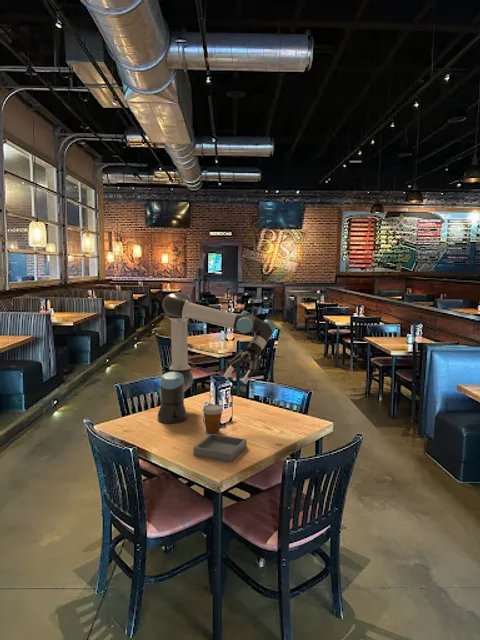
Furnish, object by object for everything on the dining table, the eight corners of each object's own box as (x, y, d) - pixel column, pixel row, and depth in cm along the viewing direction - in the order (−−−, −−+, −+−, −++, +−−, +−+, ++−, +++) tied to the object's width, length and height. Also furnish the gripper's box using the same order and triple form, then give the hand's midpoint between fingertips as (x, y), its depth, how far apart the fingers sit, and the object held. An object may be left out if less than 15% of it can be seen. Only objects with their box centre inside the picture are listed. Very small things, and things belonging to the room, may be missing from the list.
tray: (193, 455, 182) (193, 447, 182) (211, 440, 198) (211, 433, 197) (231, 462, 176) (231, 454, 175) (246, 446, 191) (246, 439, 191)
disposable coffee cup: (223, 428, 213) (223, 404, 212) (221, 435, 204) (221, 410, 202) (204, 427, 214) (204, 403, 213) (201, 434, 205) (201, 410, 203)
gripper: (277, 354, 216) (256, 389, 208) (243, 347, 234) (222, 379, 226) (270, 344, 212) (248, 380, 203) (235, 338, 230) (214, 371, 221)
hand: (234, 380), depth 214 cm, fingers open, 13 cm apart
